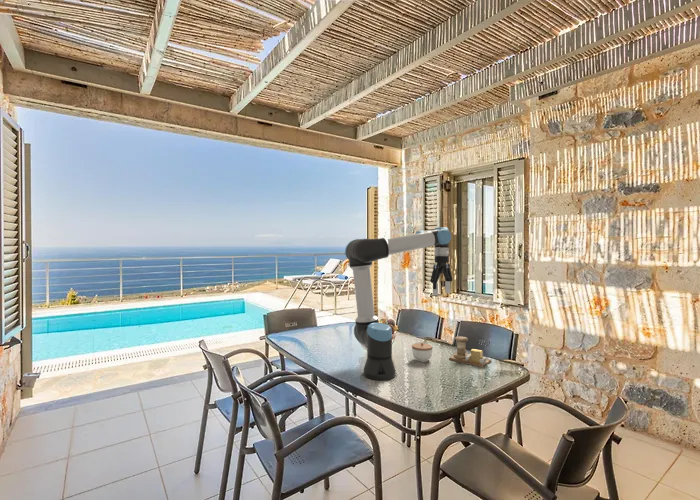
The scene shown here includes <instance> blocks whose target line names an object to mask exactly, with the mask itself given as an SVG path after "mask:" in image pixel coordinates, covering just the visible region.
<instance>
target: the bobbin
mask: <svg viewBox="0 0 700 500" xmlns="http://www.w3.org/2000/svg"><path fill="white" fill-rule="evenodd" d="M454 340H455V341H456V352H454V353H453V356H454V357H455V358H459V359H465V356H467V355H469V354H470V353H466V342H468V337H466V336H462V335H461V336H460V335H459V336H455V337H454Z"/></svg>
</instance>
